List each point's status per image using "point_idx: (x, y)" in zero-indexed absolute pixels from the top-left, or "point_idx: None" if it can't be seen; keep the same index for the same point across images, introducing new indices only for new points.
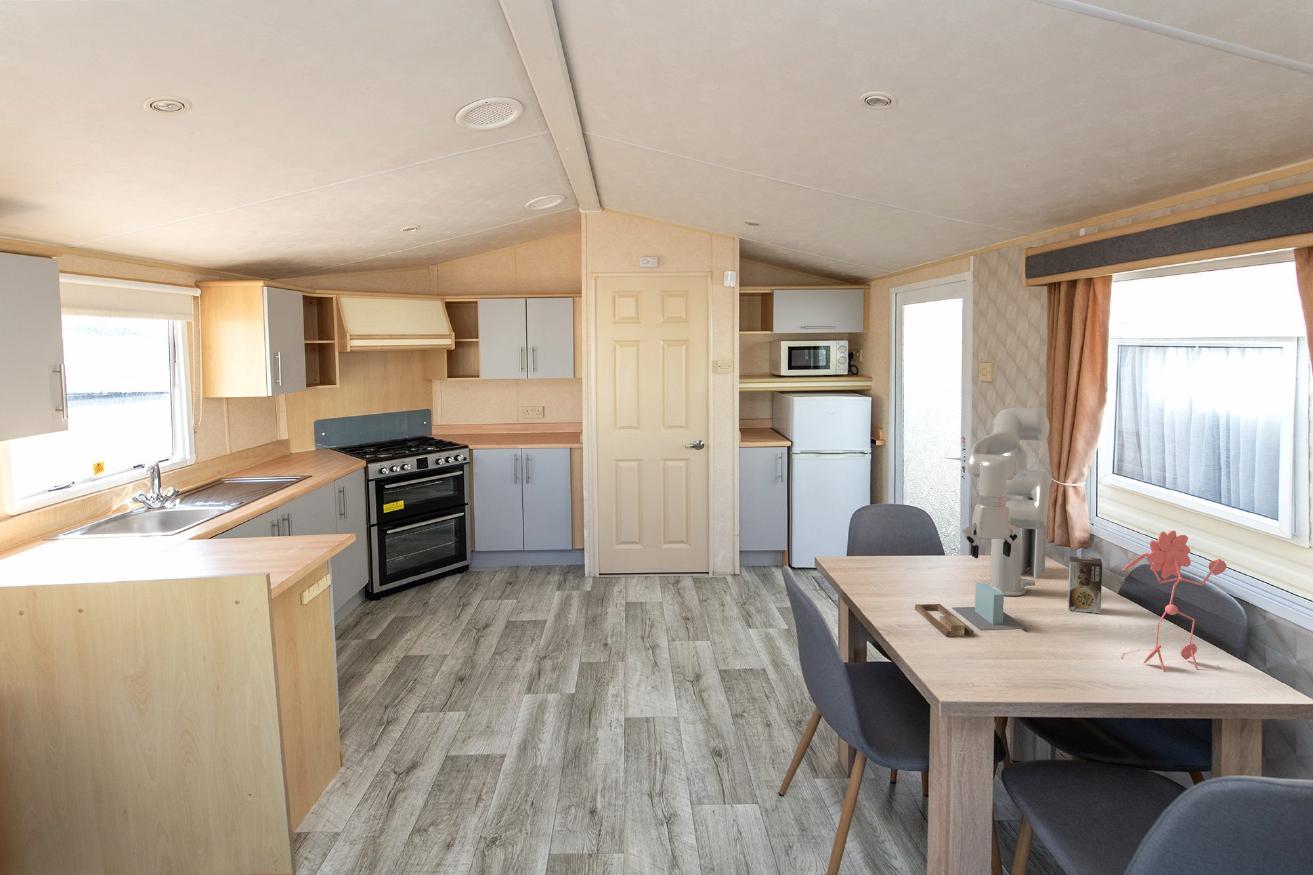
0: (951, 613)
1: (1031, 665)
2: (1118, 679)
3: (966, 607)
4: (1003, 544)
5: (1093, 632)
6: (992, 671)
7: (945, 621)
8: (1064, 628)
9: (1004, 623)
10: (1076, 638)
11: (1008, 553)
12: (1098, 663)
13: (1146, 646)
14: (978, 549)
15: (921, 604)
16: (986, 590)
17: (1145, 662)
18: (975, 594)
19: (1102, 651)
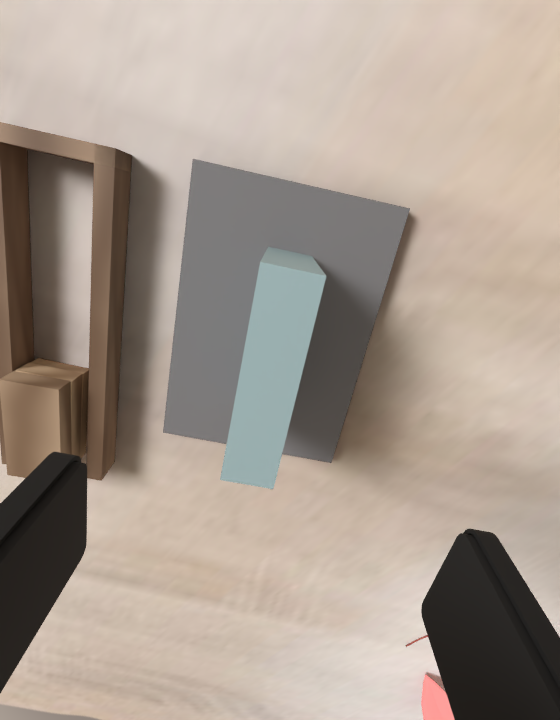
0: (106, 303)
1: (169, 623)
2: (301, 701)
3: (263, 184)
4: (533, 689)
5: (518, 513)
6: (57, 624)
7: (4, 430)
8: (468, 466)
9: None
10: (424, 533)
11: (439, 659)
12: (331, 648)
13: None
14: (10, 672)
15: (11, 128)
16: (234, 402)
17: (426, 680)
18: (264, 254)
19: (405, 608)
